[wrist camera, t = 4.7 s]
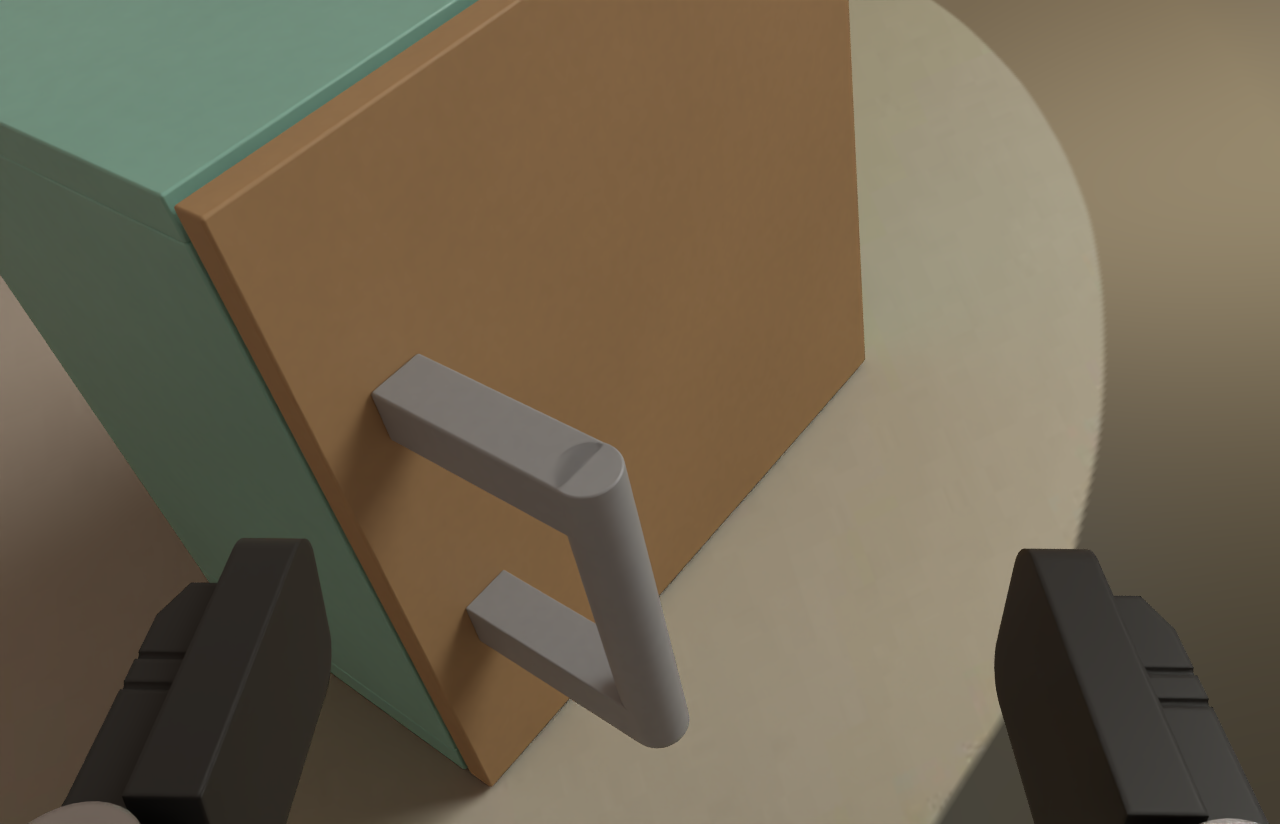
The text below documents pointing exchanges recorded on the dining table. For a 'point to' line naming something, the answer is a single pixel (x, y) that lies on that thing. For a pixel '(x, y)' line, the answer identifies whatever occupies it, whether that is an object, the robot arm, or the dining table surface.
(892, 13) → the dining table surface
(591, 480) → the wooden cabinet door
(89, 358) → the green cabinet
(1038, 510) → the dining table surface
